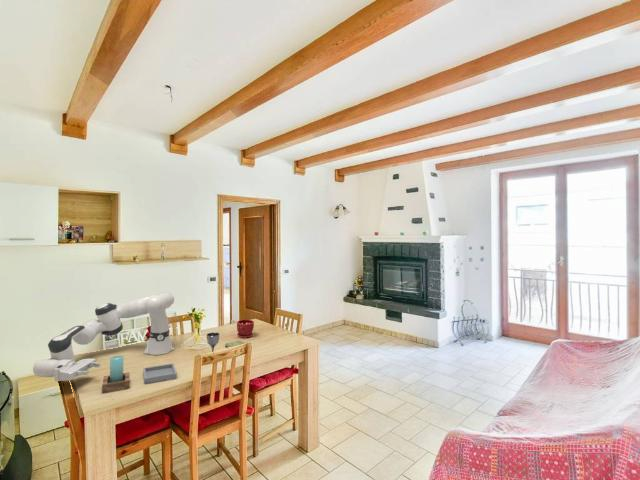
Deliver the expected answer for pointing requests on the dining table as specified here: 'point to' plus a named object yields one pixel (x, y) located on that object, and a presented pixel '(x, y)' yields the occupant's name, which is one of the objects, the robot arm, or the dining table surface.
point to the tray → (159, 373)
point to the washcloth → (234, 343)
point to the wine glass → (212, 339)
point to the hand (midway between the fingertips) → (93, 368)
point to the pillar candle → (116, 369)
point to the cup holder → (116, 384)
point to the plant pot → (245, 328)
